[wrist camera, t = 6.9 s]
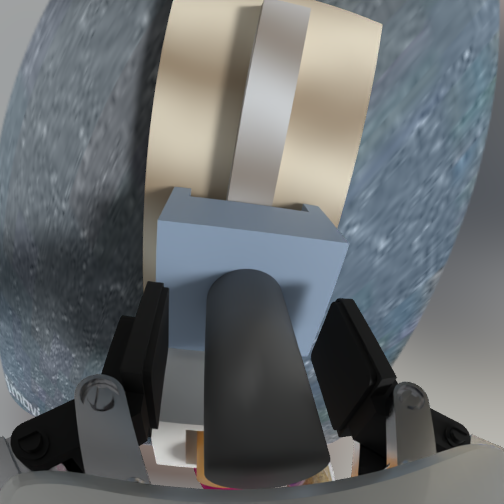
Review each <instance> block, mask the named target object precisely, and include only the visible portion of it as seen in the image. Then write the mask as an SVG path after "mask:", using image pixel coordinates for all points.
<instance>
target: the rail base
mask: <svg viewBox="0 0 504 504" xmlns="http://www.w3.org/2000/svg"><path fill="white" fill-rule="evenodd" d="M381 31H382V24H380V23H377V22H375V21H373V20H370V19H368V18H365V17H363V16H360V15H357V14H355V13H352V12H349V11H346V10H343V9H340V8H337V7H334V6H331V5H328V4H325V3H322V2H318V1H315V0H173V3H172V7H171V11H170V15H169V20H168V24H167V29H166V33H165V38H164V43H163V48H162V53H161V58H160V64H159V70H158V76H157V82H156V88H155V95H154V102H153V109H152V117H151V125H150V134H149V144H148V155H147V167H146V180H145V197H144V221H143V293H144V290H145V287H146V284H147V281H153V282H156V248H157V223H158V218H159V216H160V214H161V212H162V210H163V208H164V206H165V204H166V203H167V201H168V199H169V197H170V195H171V193H172V191H173V189H174V187H182V188H191V196H192V197H201V198H210V199H218V200H226V201H234V202H242V203H249V204H257V205H264V206H271V207H278V208H285V209H292V210H298V211H301V210H302V206H303V204H308V205H315V206H318V207H319V208H320V209H321V210H322V211H323V212H324V214H325V215H326V216H327V217H328V218H329V219H330V221H331V222H332V223H333V224H334V225H335V227H336V228H337V227H338V224H339V220H340V217H341V213H342V210H343V206H344V203H345V199H346V195H347V192H348V188H349V184H350V180H351V177H352V173H353V169H354V165H355V161H356V157H357V153H358V149H359V144H360V140H361V136H362V132H363V127H364V123H365V118H366V113H367V109H368V104H369V99H370V94H371V89H372V84H373V79H374V73H375V68H376V62H377V57H378V51H379V44H380V38H381Z"/></svg>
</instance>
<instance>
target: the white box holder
mask: <svg viewBox="0 0 504 504" xmlns="http://www.w3.org/2000/svg"><path fill="white" fill-rule="evenodd" d="M204 359H205V351H195V350H185V349H175V348H168V356H167V363H166V370H165V377H164V385H163V392H162V400H161V409H160V418H159V427H158V429H152V436H151V440H152V445H153V449H154V454H155V458H156V462H157V464H161V465H170V466H180V467H192V468H197V431H204Z"/></svg>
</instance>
